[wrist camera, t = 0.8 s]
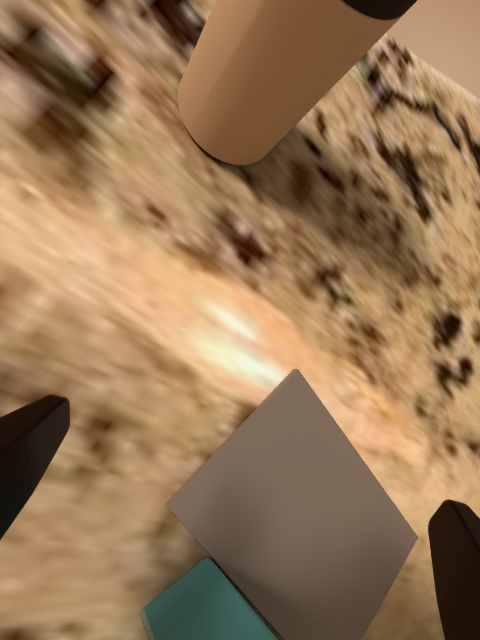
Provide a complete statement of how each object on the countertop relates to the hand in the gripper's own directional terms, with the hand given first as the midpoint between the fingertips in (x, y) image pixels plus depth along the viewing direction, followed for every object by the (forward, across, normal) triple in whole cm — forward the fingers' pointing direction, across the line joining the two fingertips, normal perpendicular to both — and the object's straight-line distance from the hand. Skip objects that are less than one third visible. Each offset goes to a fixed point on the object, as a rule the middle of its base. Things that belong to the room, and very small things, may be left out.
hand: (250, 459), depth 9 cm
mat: (+11, -7, +17) cm, 22 cm away
